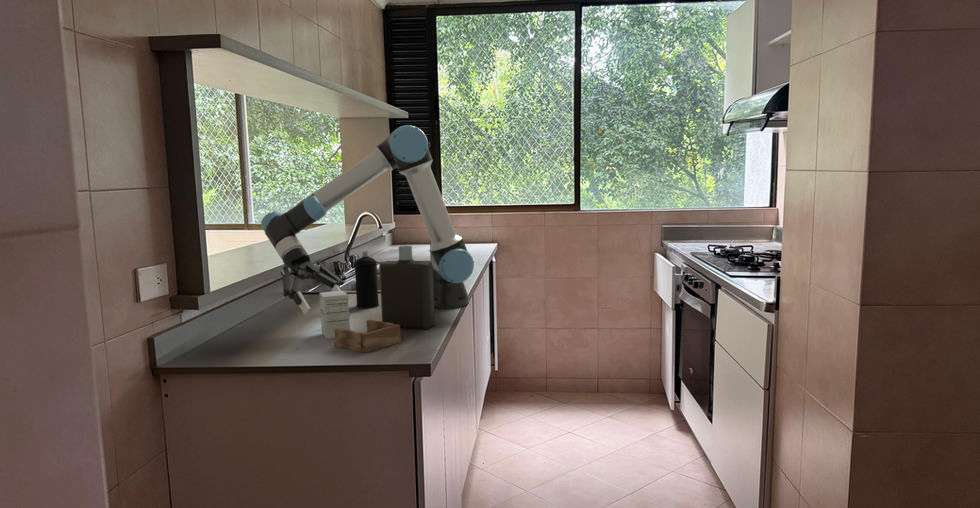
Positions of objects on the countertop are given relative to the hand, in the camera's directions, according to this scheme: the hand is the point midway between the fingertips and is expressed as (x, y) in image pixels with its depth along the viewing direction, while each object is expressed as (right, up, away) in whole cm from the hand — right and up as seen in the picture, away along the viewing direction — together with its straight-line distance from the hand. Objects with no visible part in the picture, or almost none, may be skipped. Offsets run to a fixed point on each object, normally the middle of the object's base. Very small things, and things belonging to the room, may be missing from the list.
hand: (326, 307), depth 193 cm
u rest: (+14, -9, -11) cm, 20 cm away
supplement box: (+3, -8, 0) cm, 9 cm away
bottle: (+23, -7, +9) cm, 26 cm away
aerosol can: (+5, -3, +41) cm, 41 cm away
